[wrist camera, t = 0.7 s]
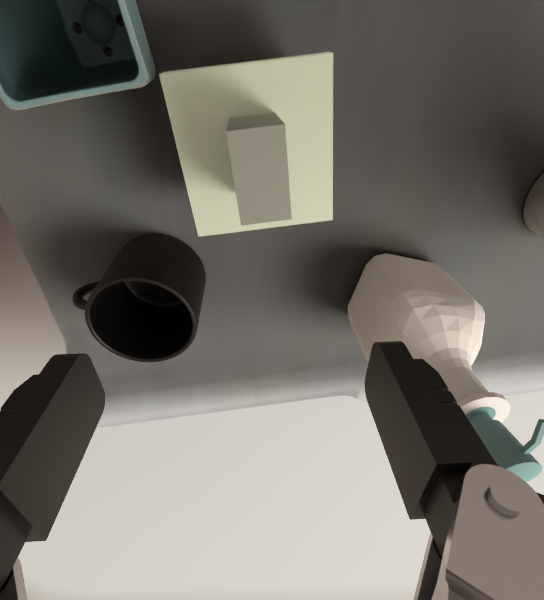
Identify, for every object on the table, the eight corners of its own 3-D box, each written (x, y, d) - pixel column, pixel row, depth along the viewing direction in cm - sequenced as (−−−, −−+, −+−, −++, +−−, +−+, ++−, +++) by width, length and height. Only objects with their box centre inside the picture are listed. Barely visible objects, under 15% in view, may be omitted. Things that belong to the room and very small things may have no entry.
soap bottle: (444, 259, 38) (640, 438, 19) (406, 324, 43) (533, 515, 25) (368, 244, 36) (503, 424, 18) (338, 313, 42) (418, 511, 23)
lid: (326, 52, 22) (365, 42, 15) (327, 210, 28) (355, 255, 21) (164, 72, 22) (128, 71, 15) (200, 226, 28) (187, 276, 21)
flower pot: (6, -49, 22) (-112, -111, 15) (134, -74, 22) (80, -150, 15) (70, 102, 27) (6, 112, 20) (176, 82, 27) (151, 85, 20)
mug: (82, 228, 33) (36, 273, 26) (205, 235, 34) (194, 279, 27) (101, 306, 38) (67, 362, 31) (207, 309, 40) (198, 363, 32)
